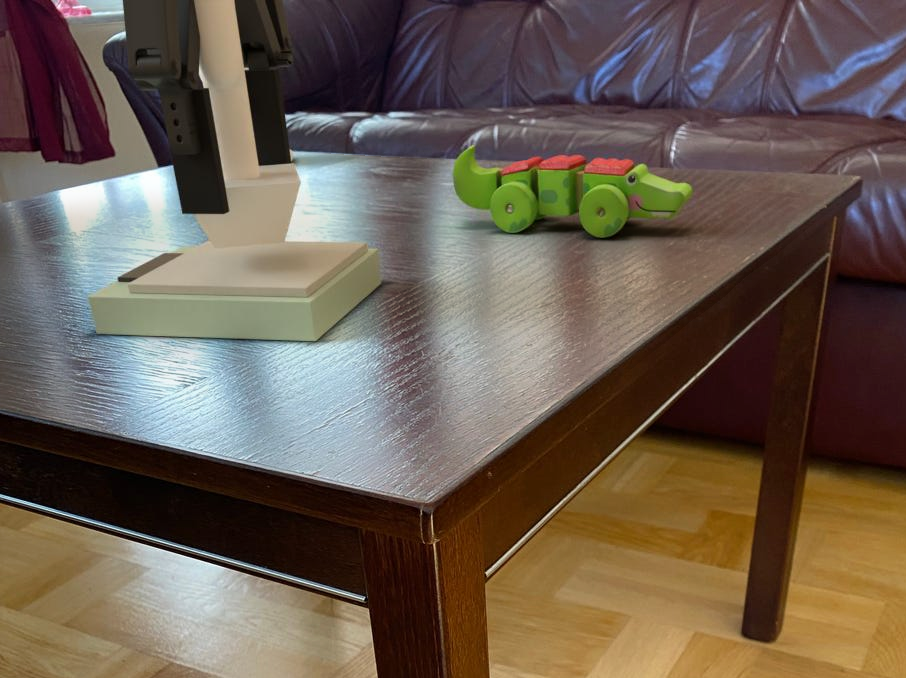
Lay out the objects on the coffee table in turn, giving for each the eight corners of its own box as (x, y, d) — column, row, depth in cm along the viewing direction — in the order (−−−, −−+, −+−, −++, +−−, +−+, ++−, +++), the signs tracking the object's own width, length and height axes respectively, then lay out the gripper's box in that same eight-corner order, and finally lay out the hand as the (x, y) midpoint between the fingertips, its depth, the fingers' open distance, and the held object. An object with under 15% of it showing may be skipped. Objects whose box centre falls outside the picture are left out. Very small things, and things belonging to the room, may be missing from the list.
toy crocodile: (696, 224, 83) (702, 142, 80) (674, 243, 78) (680, 157, 75) (477, 213, 90) (474, 138, 87) (444, 230, 85) (440, 151, 82)
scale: (96, 334, 65) (84, 286, 63) (189, 279, 76) (181, 237, 74) (315, 341, 62) (309, 291, 60) (381, 283, 72) (377, 239, 71)
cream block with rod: (300, 218, 70) (266, -43, 62) (310, 249, 63) (272, -44, 54) (194, 227, 69) (145, -37, 61) (190, 260, 62) (133, -37, 53)
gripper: (120, -328, 42) (219, 237, 55) (312, -250, 60) (354, 164, 73) (-35, -309, 44) (96, 235, 57) (196, -238, 62) (257, 164, 74)
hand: (241, 195), depth 65 cm, fingers closed on cream block with rod, 9 cm apart
